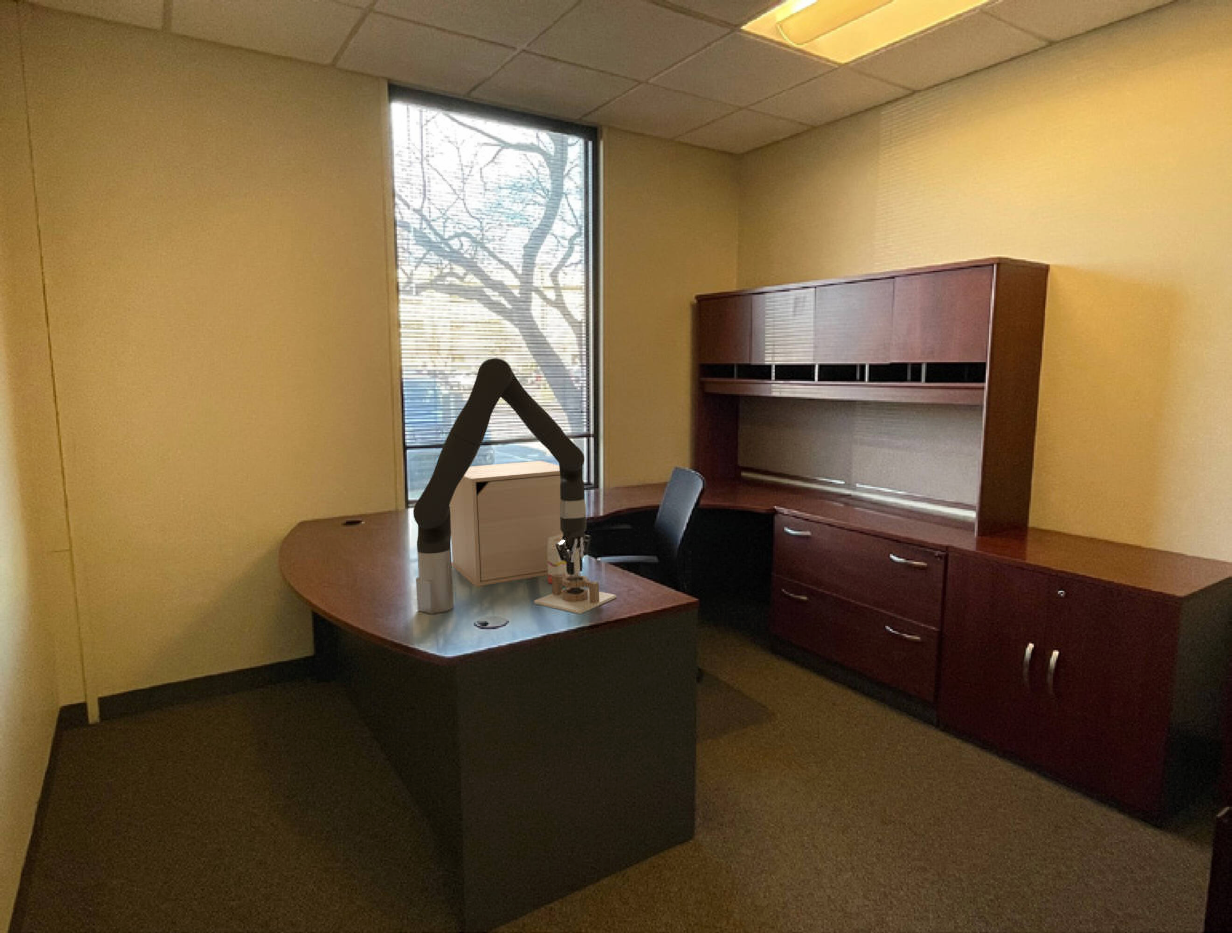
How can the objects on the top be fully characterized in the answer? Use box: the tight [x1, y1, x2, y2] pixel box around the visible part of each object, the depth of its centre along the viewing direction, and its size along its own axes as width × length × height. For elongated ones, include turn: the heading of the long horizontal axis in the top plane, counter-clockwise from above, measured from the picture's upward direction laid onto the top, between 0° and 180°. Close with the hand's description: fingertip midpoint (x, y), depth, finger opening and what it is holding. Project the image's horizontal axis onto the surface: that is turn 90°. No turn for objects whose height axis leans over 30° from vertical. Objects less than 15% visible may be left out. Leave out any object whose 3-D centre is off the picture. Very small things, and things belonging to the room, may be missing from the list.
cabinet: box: [450, 460, 563, 587], centre depth 246 cm, size 35×29×34 cm
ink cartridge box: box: [547, 534, 570, 584], centre depth 230 cm, size 9×5×15 cm, turn 141°
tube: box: [569, 548, 581, 594], centre depth 210 cm, size 3×3×14 cm
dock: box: [533, 574, 617, 615], centre depth 210 cm, size 17×17×6 cm
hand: (574, 572), depth 210 cm, fingers closed on tube, 3 cm apart
